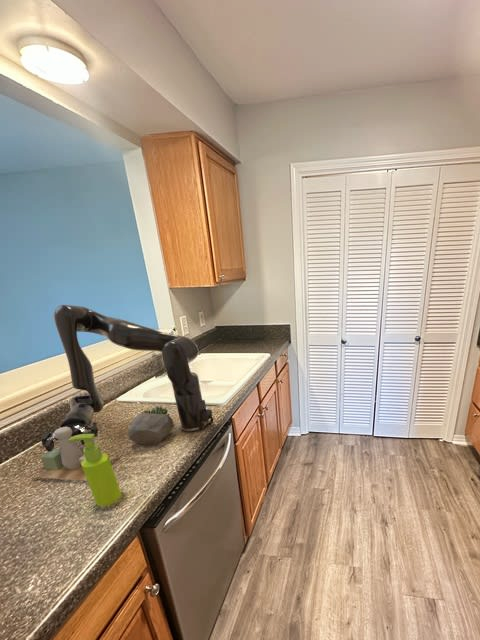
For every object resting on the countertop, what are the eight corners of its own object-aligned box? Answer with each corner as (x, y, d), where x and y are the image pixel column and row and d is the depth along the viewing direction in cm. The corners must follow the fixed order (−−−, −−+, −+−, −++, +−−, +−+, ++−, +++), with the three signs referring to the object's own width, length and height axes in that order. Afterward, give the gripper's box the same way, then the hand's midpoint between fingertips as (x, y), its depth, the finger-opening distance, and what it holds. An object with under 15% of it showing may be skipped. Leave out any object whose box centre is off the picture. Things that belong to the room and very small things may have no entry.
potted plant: (120, 441, 107) (136, 411, 119) (157, 456, 113) (169, 426, 124) (134, 420, 101) (149, 391, 113) (172, 437, 107) (183, 407, 118)
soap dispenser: (99, 495, 88) (75, 430, 79) (125, 493, 88) (104, 428, 80) (88, 510, 82) (61, 443, 74) (116, 508, 83) (92, 440, 75)
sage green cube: (70, 461, 102) (65, 449, 100) (58, 470, 98) (53, 457, 96) (57, 461, 103) (52, 448, 101) (45, 469, 98) (40, 457, 97)
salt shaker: (75, 472, 96) (61, 434, 91) (60, 470, 97) (44, 433, 92) (91, 461, 101) (78, 424, 96) (76, 459, 103) (62, 423, 97)
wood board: (116, 459, 104) (115, 456, 103) (89, 482, 93) (88, 479, 93) (67, 456, 106) (66, 454, 106) (35, 479, 96) (33, 477, 95)
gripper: (48, 416, 104) (31, 440, 90) (98, 407, 109) (89, 428, 95) (56, 437, 107) (41, 462, 93) (104, 427, 112) (97, 450, 98)
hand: (65, 445), depth 94 cm, fingers open, 8 cm apart
